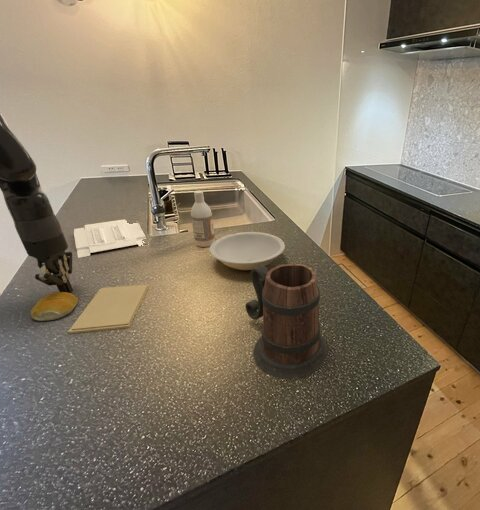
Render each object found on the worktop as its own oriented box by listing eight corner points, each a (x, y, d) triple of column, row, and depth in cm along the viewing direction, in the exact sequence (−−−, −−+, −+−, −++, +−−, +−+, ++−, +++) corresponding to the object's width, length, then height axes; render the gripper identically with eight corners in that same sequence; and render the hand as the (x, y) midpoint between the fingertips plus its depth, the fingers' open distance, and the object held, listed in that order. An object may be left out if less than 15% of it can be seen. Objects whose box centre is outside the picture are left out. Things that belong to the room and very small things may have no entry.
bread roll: (82, 297, 81) (78, 285, 79) (70, 318, 74) (64, 305, 72) (43, 302, 78) (37, 289, 76) (26, 324, 71) (19, 310, 69)
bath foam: (213, 247, 112) (207, 194, 103) (193, 247, 111) (185, 194, 102) (216, 239, 119) (210, 189, 109) (197, 239, 117) (190, 188, 108)
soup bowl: (267, 243, 119) (266, 227, 116) (297, 270, 103) (297, 252, 100) (202, 256, 106) (200, 239, 103) (225, 289, 89) (223, 270, 86)
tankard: (342, 347, 72) (349, 274, 63) (290, 393, 60) (290, 311, 51) (275, 305, 84) (273, 240, 75) (220, 336, 72) (210, 263, 63)
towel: (68, 334, 69) (67, 330, 69) (100, 290, 85) (99, 287, 84) (128, 327, 72) (128, 324, 72) (149, 286, 88) (148, 283, 87)
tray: (78, 258, 99) (74, 247, 97) (74, 231, 118) (70, 222, 116) (150, 244, 111) (147, 235, 109) (135, 222, 130) (133, 214, 128)
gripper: (37, 223, 77) (62, 281, 85) (3, 246, 66) (35, 310, 74) (73, 222, 79) (94, 278, 87) (46, 244, 68) (72, 306, 76)
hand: (67, 293), depth 80 cm, fingers closed
